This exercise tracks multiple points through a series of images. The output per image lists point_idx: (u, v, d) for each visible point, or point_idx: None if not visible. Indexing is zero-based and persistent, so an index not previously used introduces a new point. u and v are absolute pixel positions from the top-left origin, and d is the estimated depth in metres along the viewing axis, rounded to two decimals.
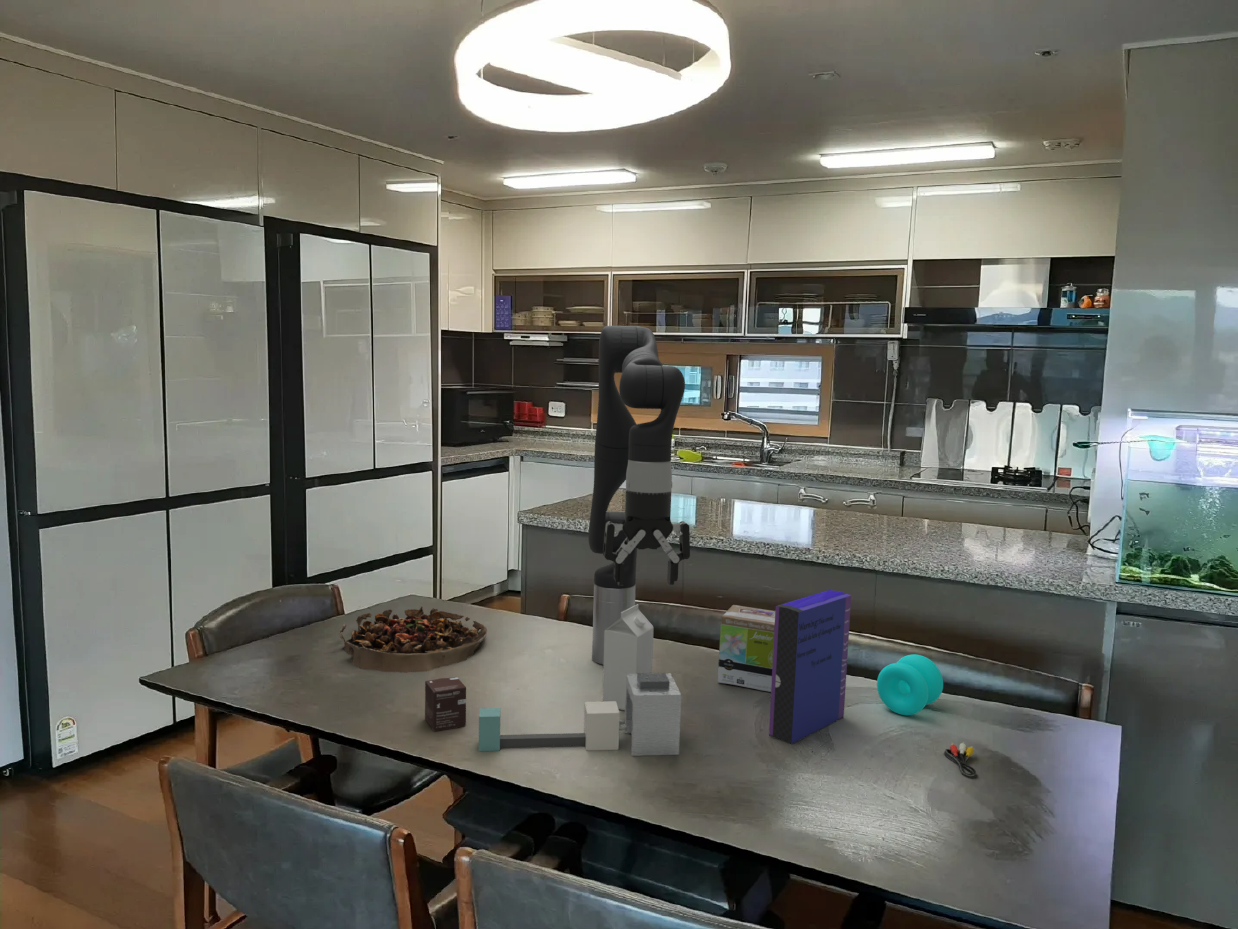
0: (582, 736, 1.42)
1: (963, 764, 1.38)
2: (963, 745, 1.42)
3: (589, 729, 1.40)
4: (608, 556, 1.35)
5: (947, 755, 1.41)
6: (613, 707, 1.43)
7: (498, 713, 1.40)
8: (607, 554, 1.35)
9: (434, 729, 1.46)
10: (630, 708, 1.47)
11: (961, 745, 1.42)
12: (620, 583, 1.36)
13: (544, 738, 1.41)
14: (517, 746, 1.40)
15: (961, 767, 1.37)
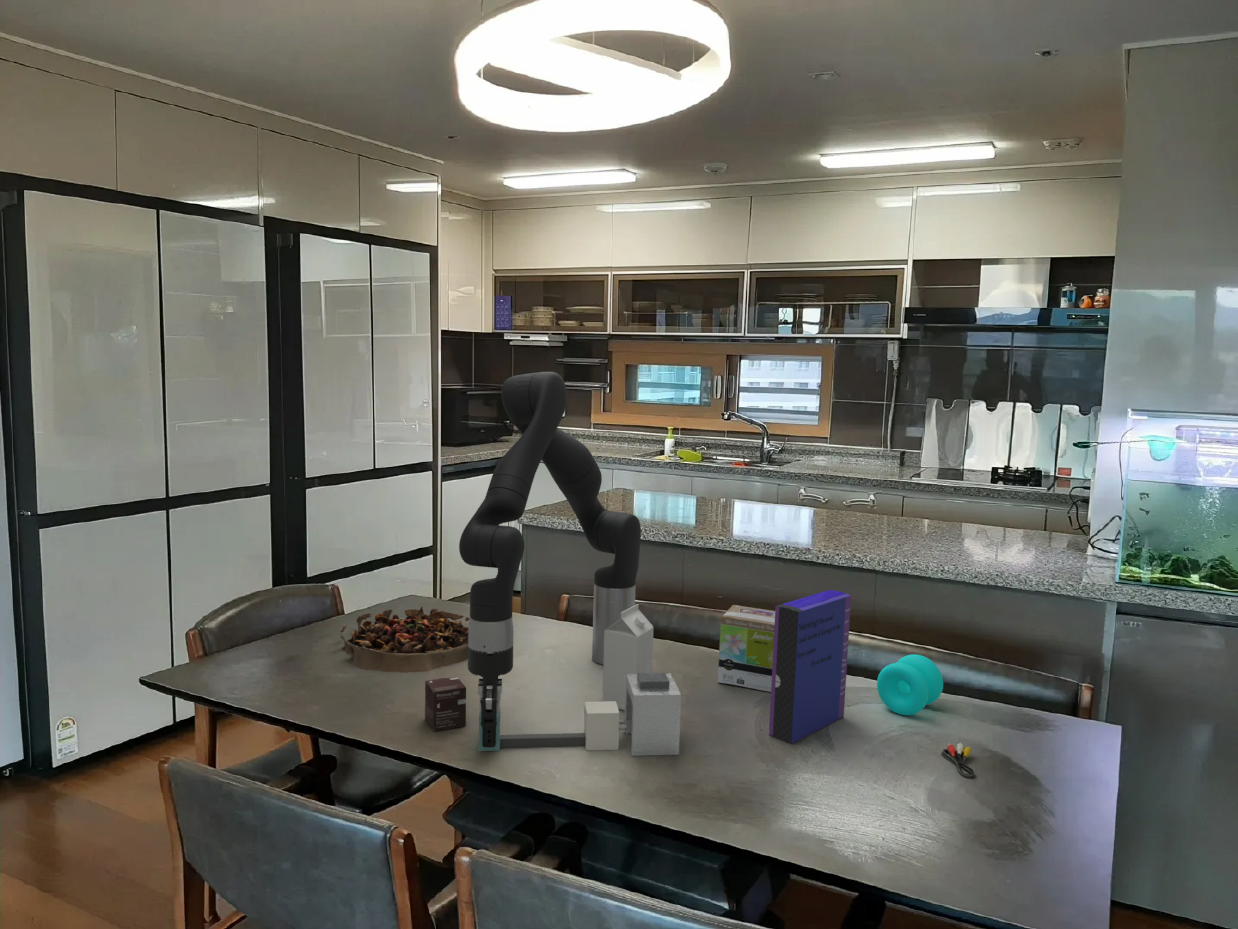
0: (582, 736, 1.42)
1: (961, 764, 1.38)
2: (960, 745, 1.42)
3: (589, 729, 1.40)
4: None
5: (945, 755, 1.41)
6: (613, 707, 1.43)
7: (498, 713, 1.40)
8: (496, 721, 1.36)
9: (434, 729, 1.46)
10: (630, 708, 1.47)
11: (959, 745, 1.42)
12: (495, 744, 1.39)
13: (544, 738, 1.41)
14: (517, 746, 1.40)
15: (959, 767, 1.37)
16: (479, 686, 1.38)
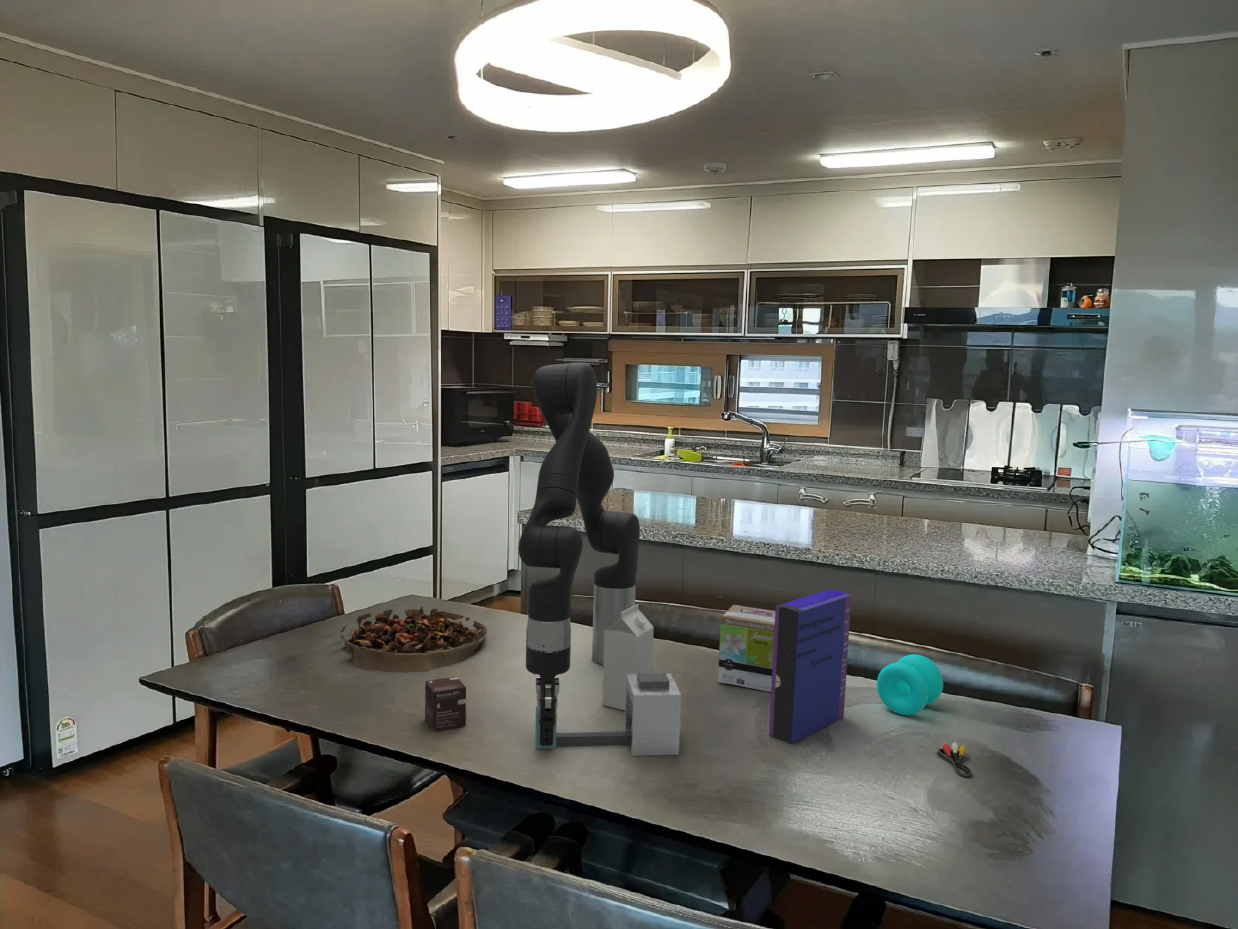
0: None
1: (957, 764, 1.38)
2: (956, 744, 1.42)
3: None
4: (555, 722, 1.37)
5: (941, 755, 1.41)
6: None
7: None
8: (554, 720, 1.37)
9: (434, 729, 1.46)
10: (630, 708, 1.47)
11: (954, 745, 1.42)
12: (552, 742, 1.40)
13: (599, 736, 1.42)
14: (573, 744, 1.42)
15: (956, 767, 1.37)
16: (537, 685, 1.39)
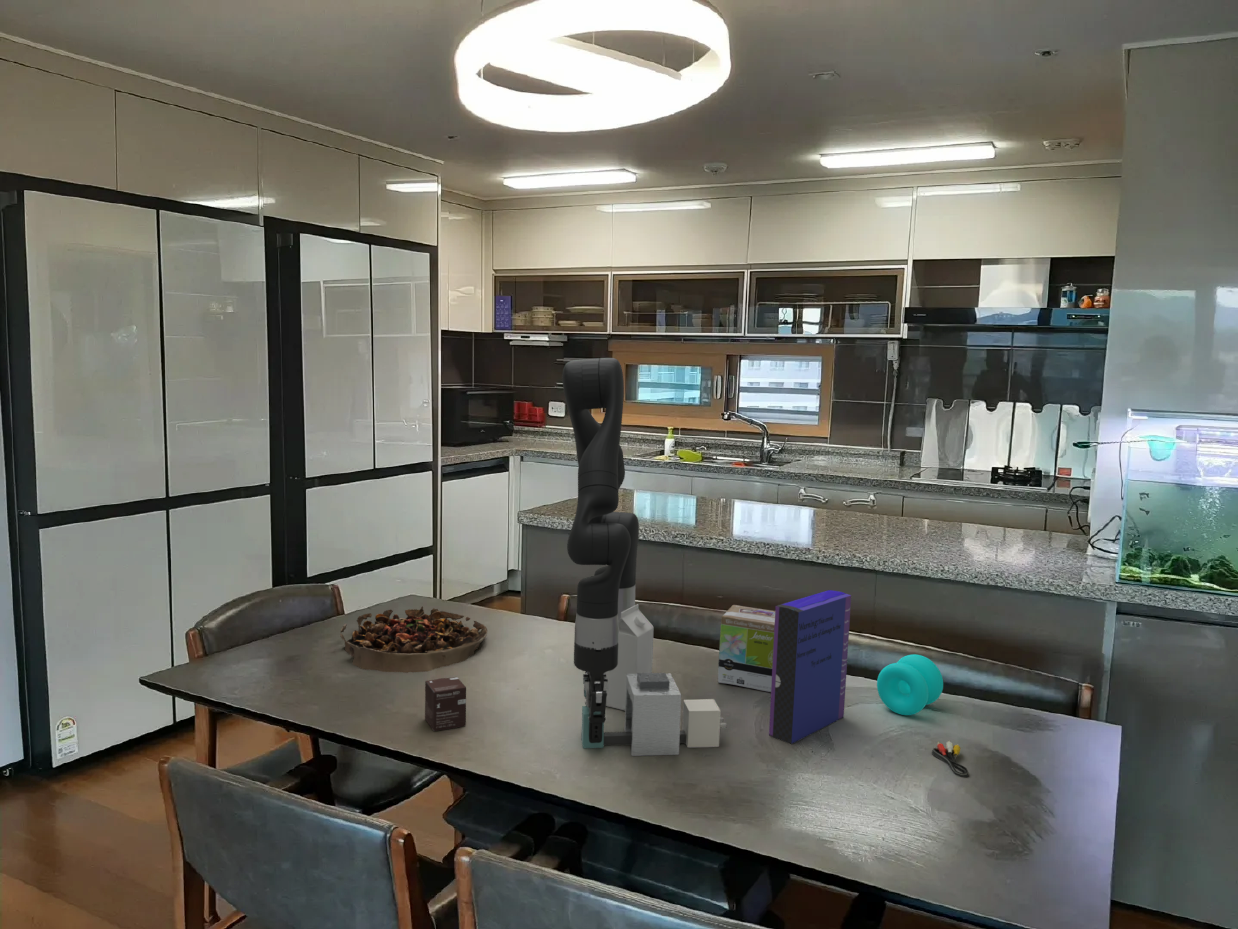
0: (682, 733, 1.44)
1: (953, 763, 1.38)
2: (950, 743, 1.42)
3: (691, 726, 1.42)
4: (605, 718, 1.37)
5: (936, 754, 1.41)
6: (712, 704, 1.45)
7: None
8: (604, 717, 1.37)
9: (434, 729, 1.46)
10: (630, 708, 1.47)
11: (948, 744, 1.42)
12: (601, 739, 1.40)
13: None
14: (619, 743, 1.43)
15: (952, 766, 1.37)
16: (586, 681, 1.40)
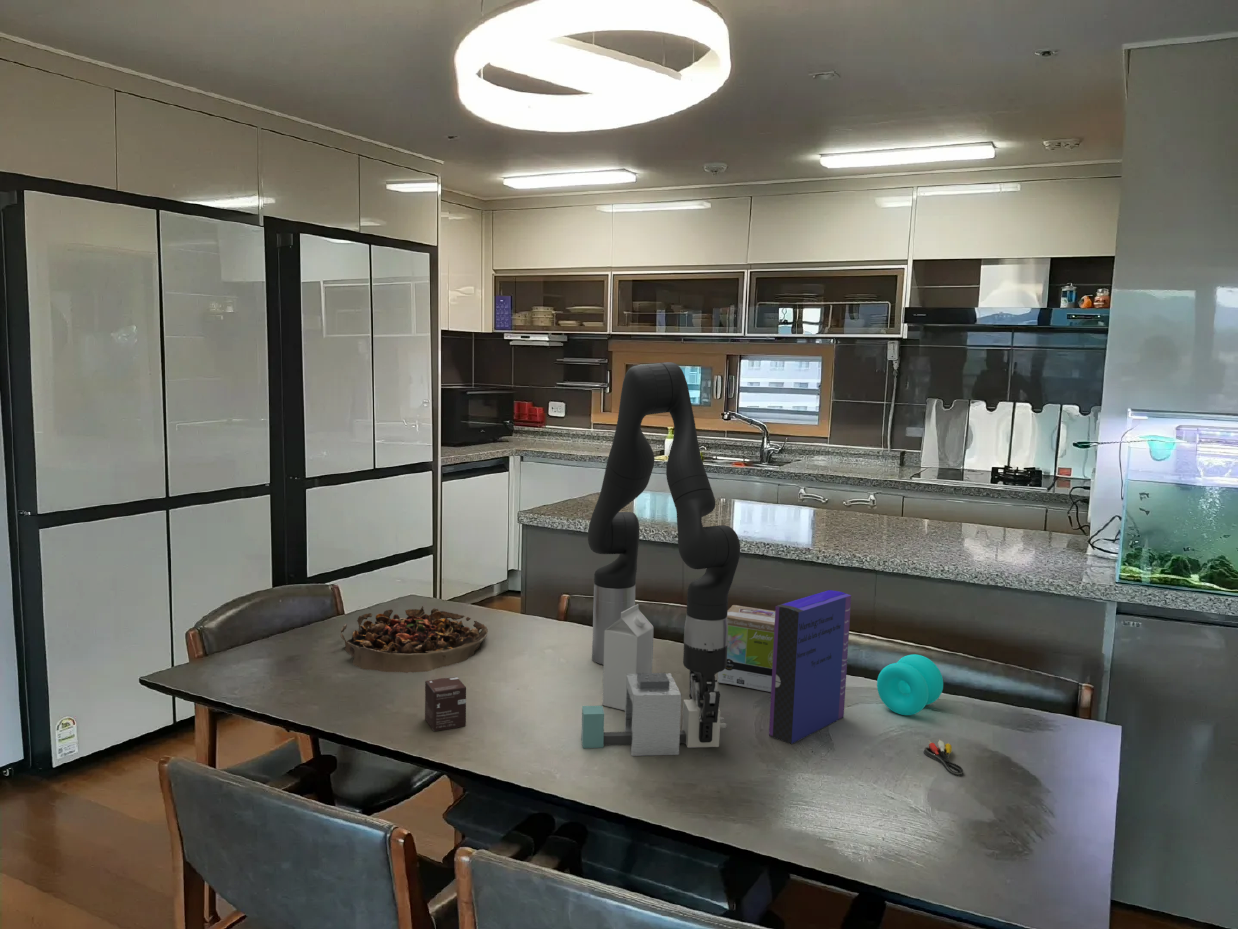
0: (682, 733, 1.44)
1: (947, 762, 1.39)
2: (942, 742, 1.43)
3: (691, 726, 1.42)
4: (717, 719, 1.40)
5: (928, 754, 1.42)
6: None
7: (601, 711, 1.42)
8: None
9: (434, 729, 1.46)
10: (630, 708, 1.47)
11: (940, 743, 1.43)
12: (711, 739, 1.42)
13: None
14: (619, 743, 1.43)
15: (947, 765, 1.37)
16: (696, 682, 1.42)
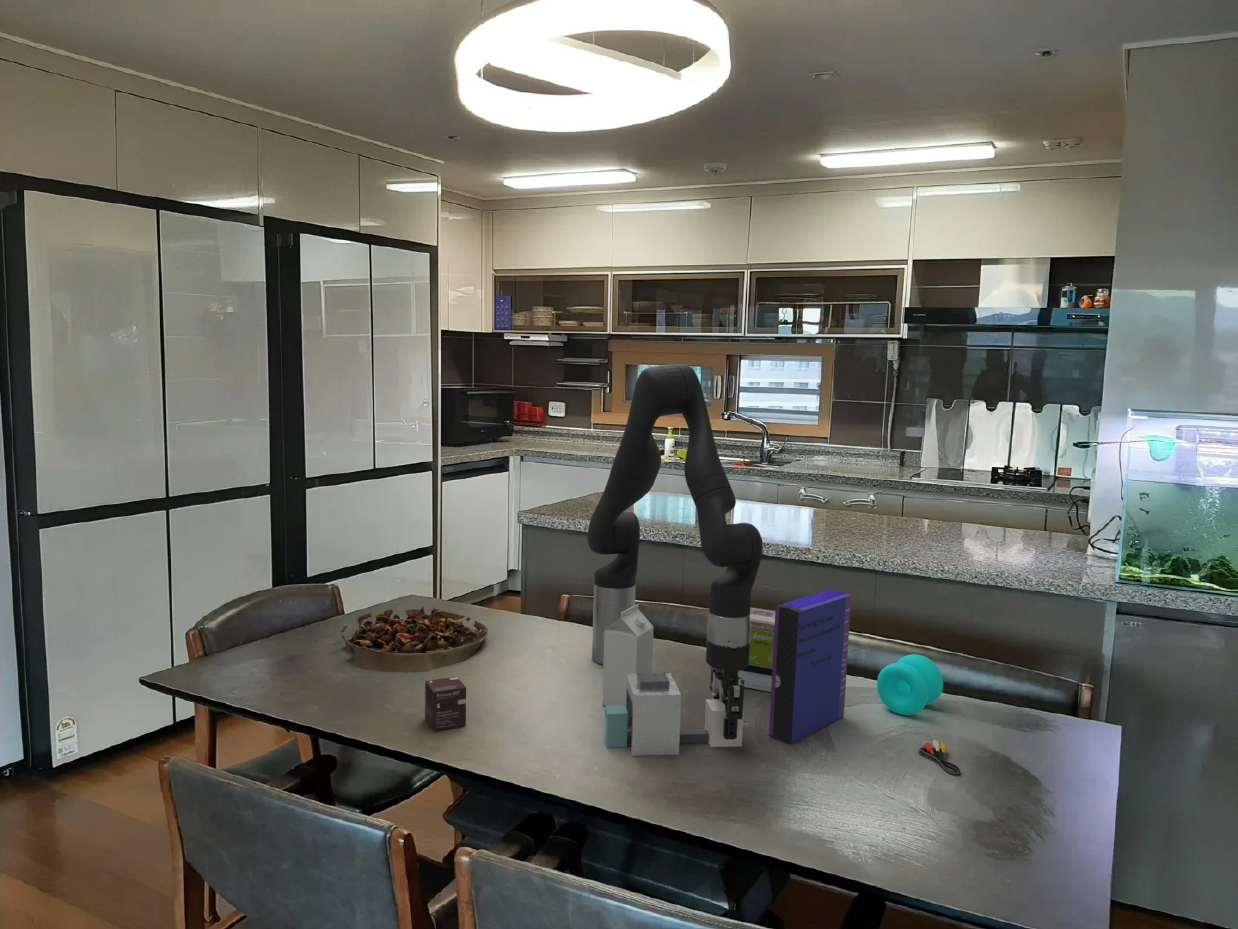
0: (705, 733, 1.45)
1: (943, 762, 1.39)
2: (936, 742, 1.43)
3: (714, 726, 1.43)
4: None
5: (924, 754, 1.42)
6: None
7: (625, 711, 1.42)
8: None
9: (434, 729, 1.46)
10: (630, 708, 1.47)
11: (935, 742, 1.43)
12: (736, 736, 1.42)
13: None
14: None
15: (943, 765, 1.38)
16: (719, 678, 1.43)
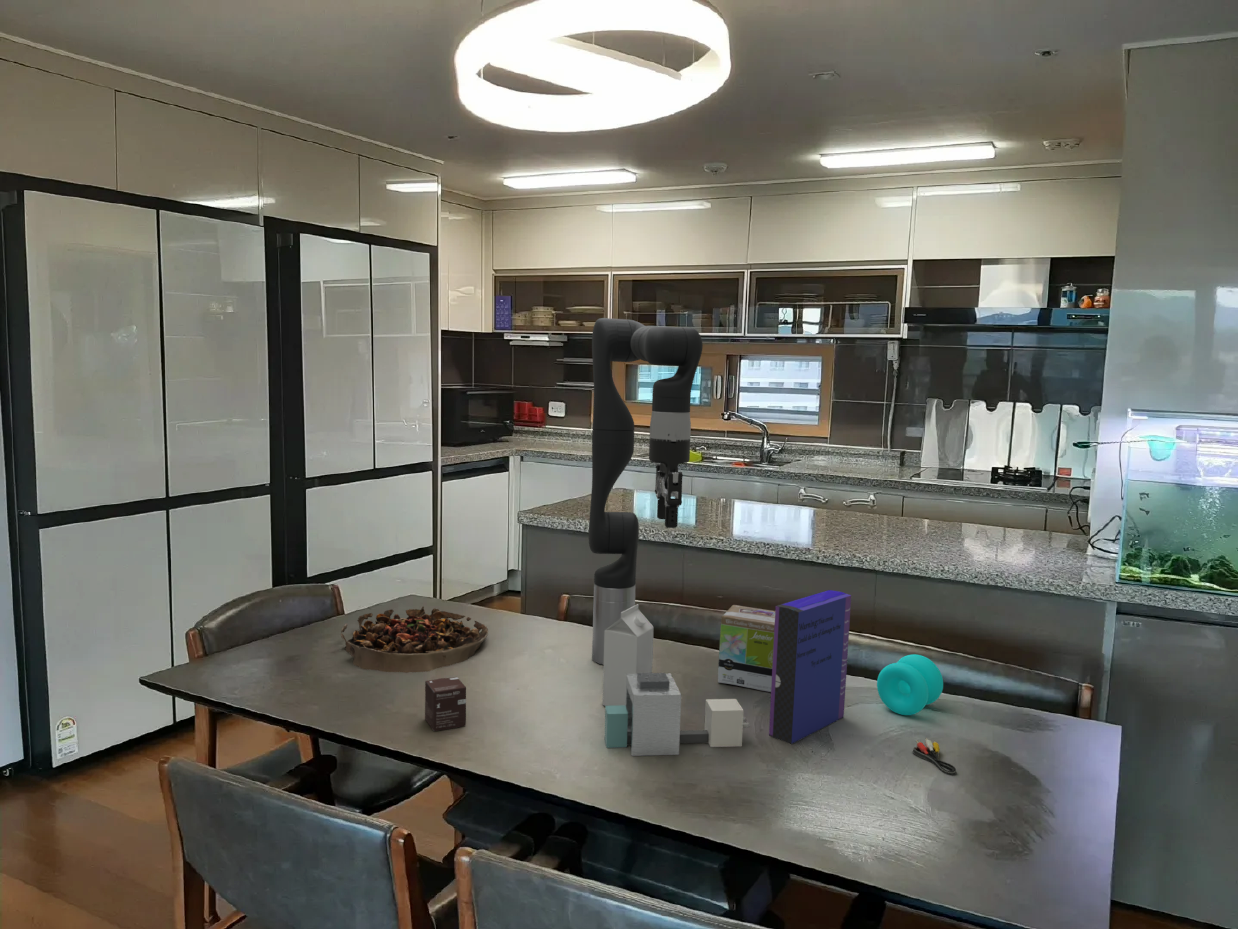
0: (705, 733, 1.45)
1: (938, 761, 1.39)
2: (930, 741, 1.43)
3: (714, 726, 1.43)
4: (681, 501, 1.48)
5: (918, 754, 1.41)
6: (735, 704, 1.45)
7: (625, 711, 1.42)
8: None
9: (434, 729, 1.46)
10: (630, 708, 1.47)
11: (928, 742, 1.43)
12: None
13: None
14: None
15: (939, 765, 1.38)
16: (661, 473, 1.52)
